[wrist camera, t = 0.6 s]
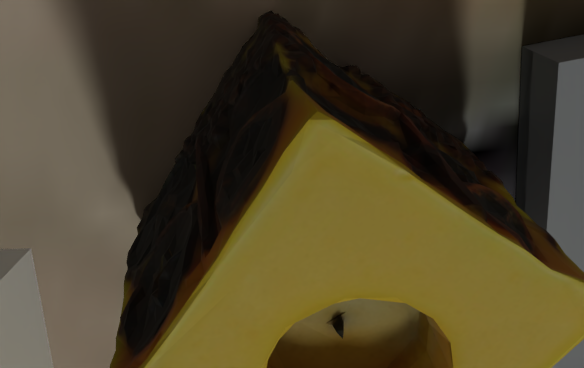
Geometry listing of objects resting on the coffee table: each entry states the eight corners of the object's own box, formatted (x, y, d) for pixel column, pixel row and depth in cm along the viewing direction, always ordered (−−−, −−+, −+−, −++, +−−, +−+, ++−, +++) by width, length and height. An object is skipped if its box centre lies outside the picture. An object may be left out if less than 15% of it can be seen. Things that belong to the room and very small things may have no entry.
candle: (265, 3, 19) (309, 88, 10) (473, 143, 22) (642, 297, 14) (129, 224, 22) (72, 436, 13) (330, 317, 26) (390, 534, 17)
